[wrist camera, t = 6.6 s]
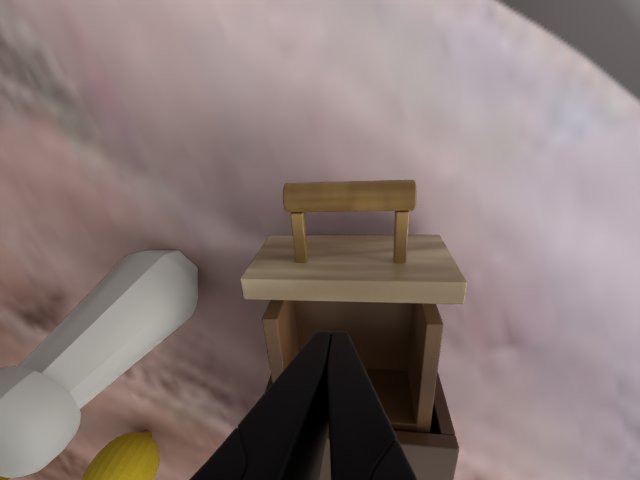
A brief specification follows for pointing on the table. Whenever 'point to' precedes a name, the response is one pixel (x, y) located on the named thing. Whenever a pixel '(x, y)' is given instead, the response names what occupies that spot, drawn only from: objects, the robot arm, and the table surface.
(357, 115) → the table surface
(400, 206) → the drawer
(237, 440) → the robot arm
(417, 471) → the cabinet
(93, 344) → the white bowling pin
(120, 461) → the lemon
